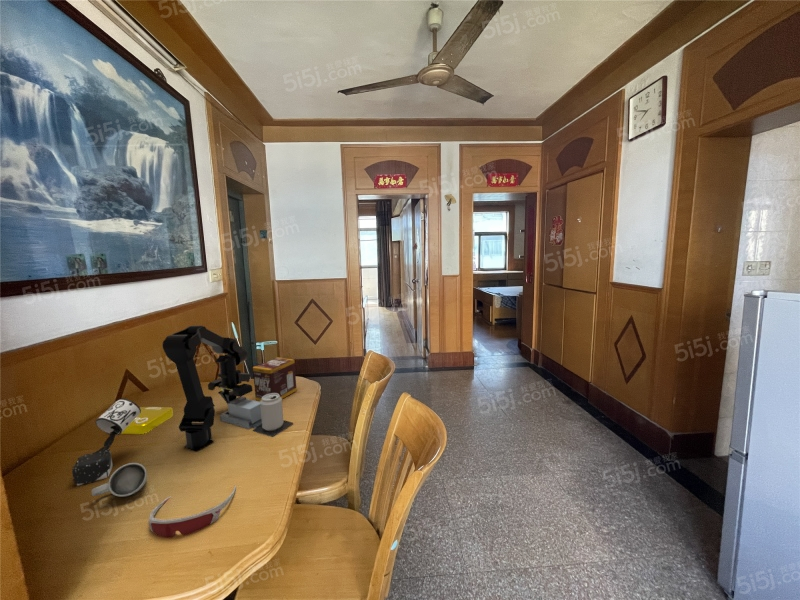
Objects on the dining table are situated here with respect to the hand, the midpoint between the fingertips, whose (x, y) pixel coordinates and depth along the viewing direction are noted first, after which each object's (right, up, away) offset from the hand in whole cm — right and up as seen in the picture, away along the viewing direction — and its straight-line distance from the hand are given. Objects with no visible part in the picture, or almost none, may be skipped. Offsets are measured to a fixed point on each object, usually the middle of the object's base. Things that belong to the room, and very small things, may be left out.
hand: (231, 407), depth 130 cm
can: (+20, -4, -9) cm, 22 cm away
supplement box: (+10, -1, +20) cm, 22 cm away
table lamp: (-21, -9, -30) cm, 37 cm away
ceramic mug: (-7, -10, -43) cm, 45 cm away
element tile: (-32, -6, -4) cm, 33 cm away
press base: (+12, -4, -5) cm, 14 cm away
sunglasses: (+16, -12, -50) cm, 53 cm away
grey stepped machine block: (+7, -3, -3) cm, 8 cm away
